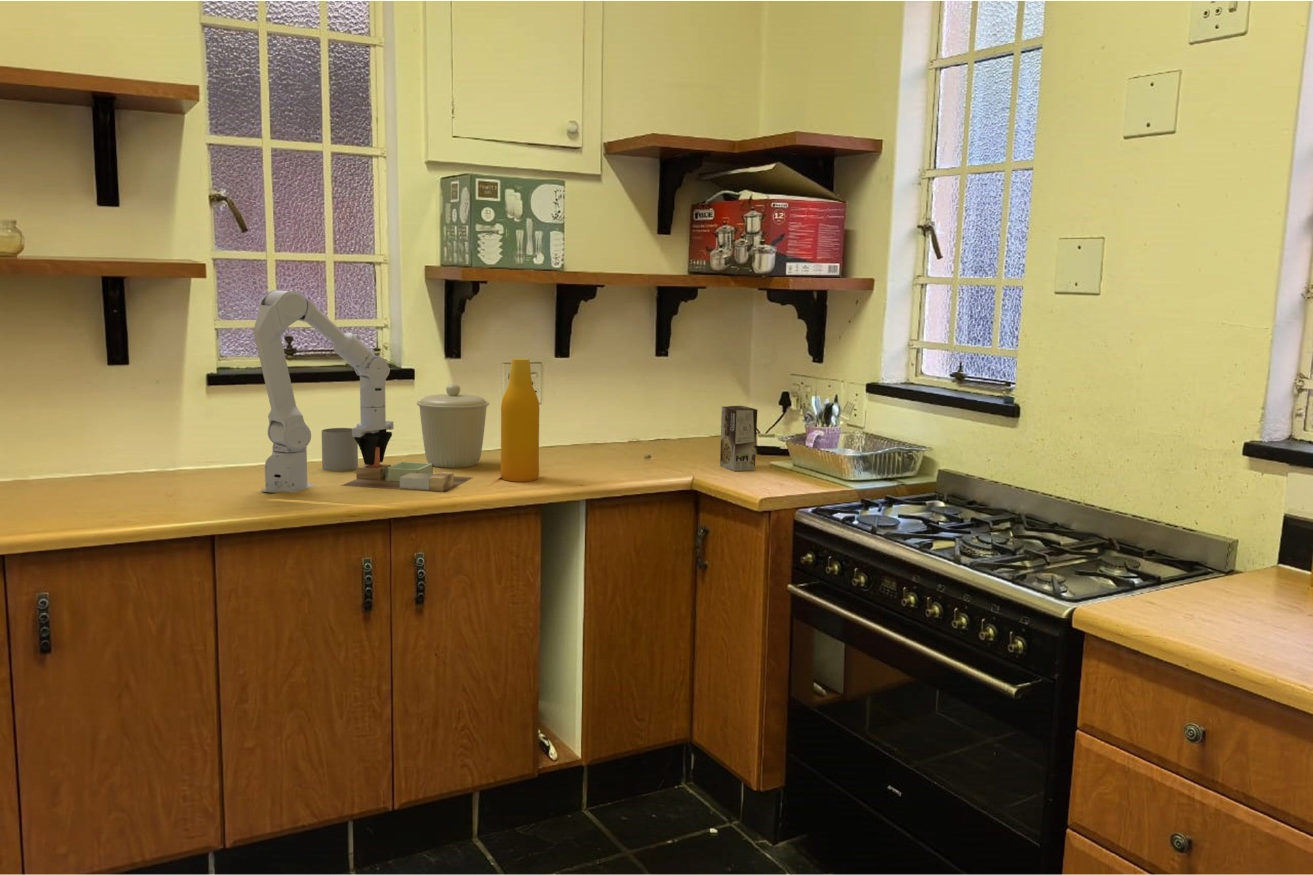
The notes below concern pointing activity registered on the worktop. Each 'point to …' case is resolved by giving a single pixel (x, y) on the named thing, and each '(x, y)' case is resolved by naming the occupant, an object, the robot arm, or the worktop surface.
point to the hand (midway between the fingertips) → (373, 463)
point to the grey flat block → (416, 481)
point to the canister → (453, 428)
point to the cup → (339, 450)
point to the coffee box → (738, 438)
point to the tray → (407, 470)
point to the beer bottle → (520, 426)
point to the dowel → (376, 459)
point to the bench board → (378, 480)
